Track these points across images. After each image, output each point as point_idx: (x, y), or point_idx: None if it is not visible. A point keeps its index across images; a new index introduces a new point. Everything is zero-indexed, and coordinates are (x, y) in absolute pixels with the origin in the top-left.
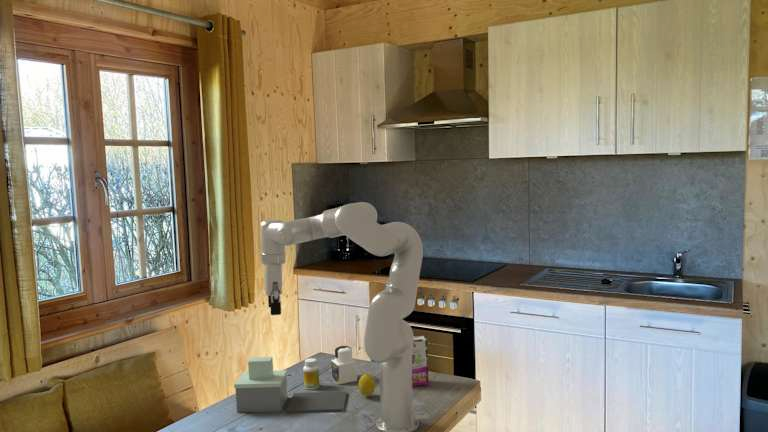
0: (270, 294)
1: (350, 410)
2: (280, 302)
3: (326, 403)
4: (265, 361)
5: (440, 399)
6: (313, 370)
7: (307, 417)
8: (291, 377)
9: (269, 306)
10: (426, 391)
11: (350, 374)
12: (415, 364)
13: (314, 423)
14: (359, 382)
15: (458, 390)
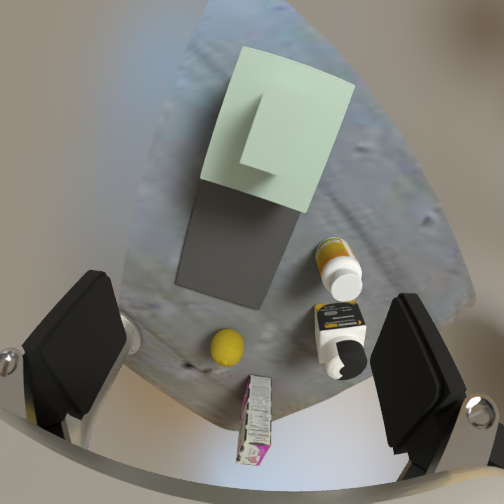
0: (452, 416)
1: (178, 292)
2: (69, 411)
3: (211, 262)
4: (245, 146)
5: (188, 394)
6: (321, 278)
7: (168, 214)
8: (411, 222)
9: (394, 303)
10: (221, 394)
11: (316, 336)
12: (241, 420)
13: (139, 222)
14: (223, 341)
15: (211, 415)
